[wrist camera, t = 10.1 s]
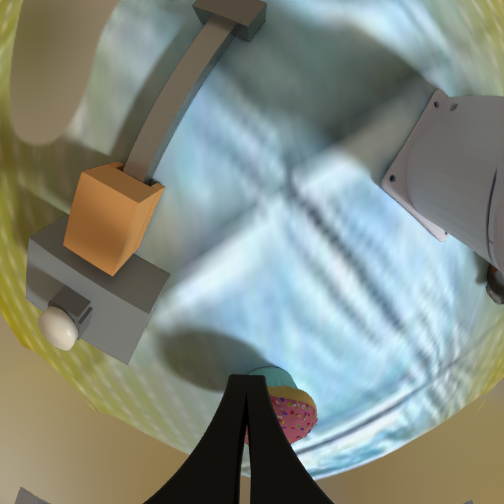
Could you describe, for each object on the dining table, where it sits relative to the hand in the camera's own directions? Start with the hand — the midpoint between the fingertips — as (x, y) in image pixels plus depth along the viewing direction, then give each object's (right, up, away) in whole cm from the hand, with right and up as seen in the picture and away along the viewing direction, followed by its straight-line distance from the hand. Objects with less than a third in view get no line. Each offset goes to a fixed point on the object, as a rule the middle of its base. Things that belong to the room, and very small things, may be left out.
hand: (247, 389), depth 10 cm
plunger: (-12, +2, +5) cm, 13 cm away
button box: (-12, +4, +10) cm, 16 cm away
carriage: (-8, +9, +8) cm, 14 cm away
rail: (-6, +13, +6) cm, 15 cm away
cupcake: (+2, -7, +15) cm, 17 cm away
